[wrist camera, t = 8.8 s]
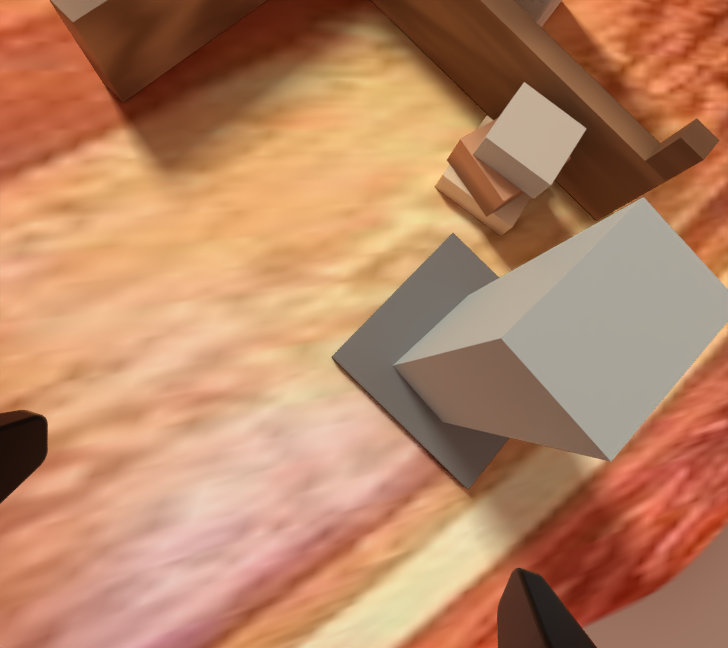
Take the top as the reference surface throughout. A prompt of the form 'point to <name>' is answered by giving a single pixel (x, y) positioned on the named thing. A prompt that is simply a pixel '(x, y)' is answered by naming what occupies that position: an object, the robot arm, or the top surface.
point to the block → (574, 338)
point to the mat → (400, 333)
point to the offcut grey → (530, 141)
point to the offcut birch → (460, 195)
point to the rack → (442, 45)
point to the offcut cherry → (482, 174)
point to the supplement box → (539, 9)
